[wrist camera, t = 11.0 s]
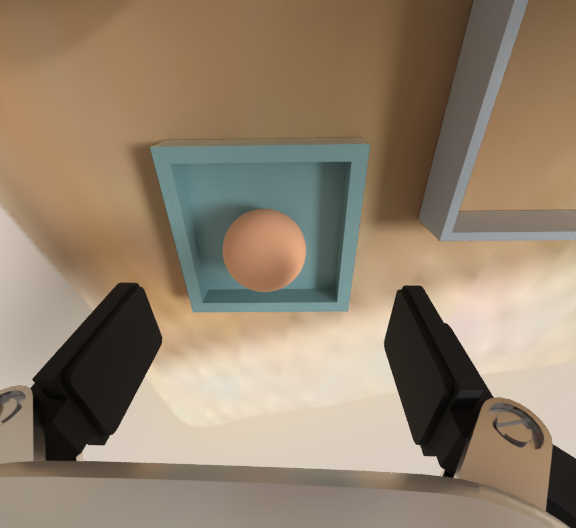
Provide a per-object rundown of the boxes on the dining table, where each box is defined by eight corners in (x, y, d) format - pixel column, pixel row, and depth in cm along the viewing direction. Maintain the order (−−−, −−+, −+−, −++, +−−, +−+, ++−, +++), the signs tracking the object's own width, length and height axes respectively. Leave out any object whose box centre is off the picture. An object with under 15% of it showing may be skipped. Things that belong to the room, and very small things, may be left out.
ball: (305, 196, 16) (309, 230, 12) (304, 263, 19) (306, 309, 15) (227, 196, 16) (205, 231, 12) (235, 263, 19) (220, 309, 15)
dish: (361, 137, 15) (370, 143, 13) (343, 292, 21) (347, 311, 19) (166, 140, 15) (149, 146, 13) (201, 293, 21) (192, 312, 19)
